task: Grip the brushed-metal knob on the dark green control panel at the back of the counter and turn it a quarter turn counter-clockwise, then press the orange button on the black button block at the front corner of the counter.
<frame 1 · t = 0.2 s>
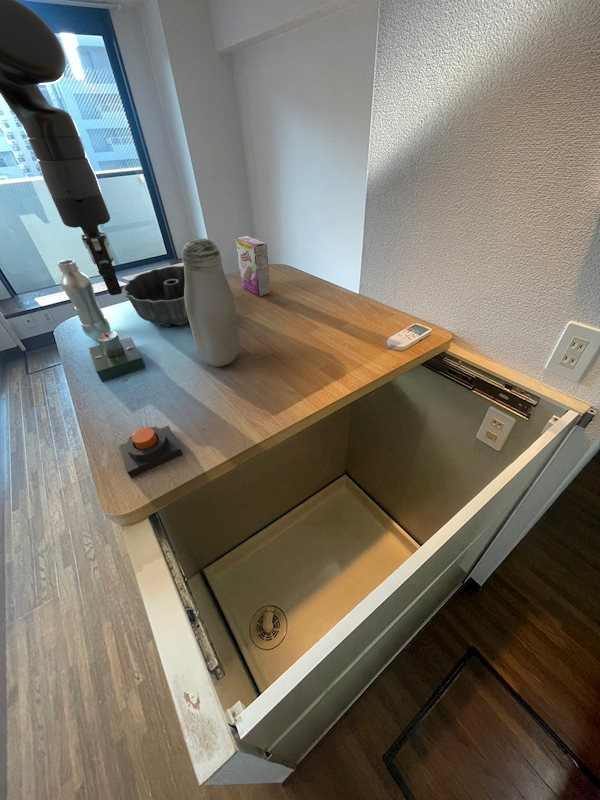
hand: (113, 286, 65), 20 cm above the table, tool pointing down, fingers open, 8 cm apart
off-white tall tapered cylinder: (222, 362, 81), on the table
candy bar box: (255, 291, 114), on the table
button block: (152, 453, 59), on the table
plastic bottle: (100, 336, 91), on the table
panel: (119, 362, 81), on the table
button: (144, 438, 56), point 4 cm above the table, slide at 0.2 cm
dial: (110, 344, 77), point 5 cm above the table, hinge at 0.0°
bundt pan: (180, 313, 101), on the table
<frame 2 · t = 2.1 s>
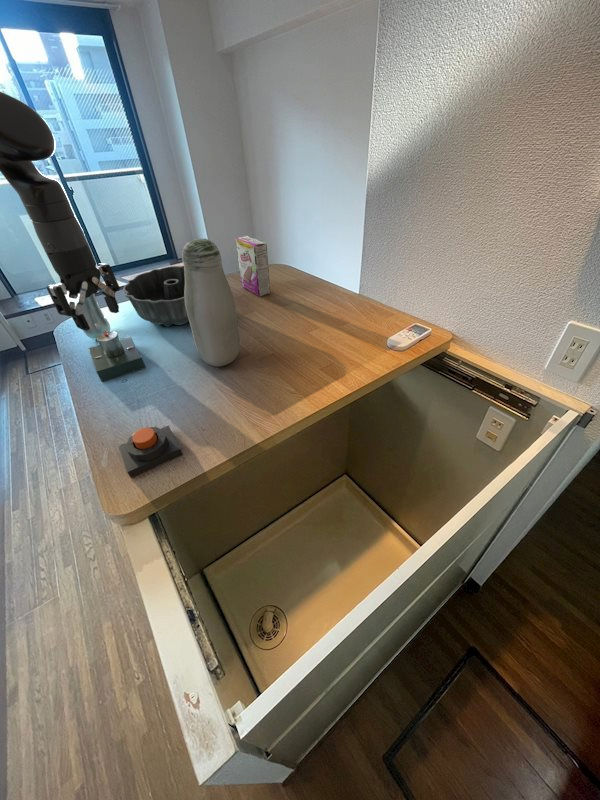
hand: (100, 320, 73), 12 cm above the table, tool pointing down, fingers open, 8 cm apart
nothing on the table moved.
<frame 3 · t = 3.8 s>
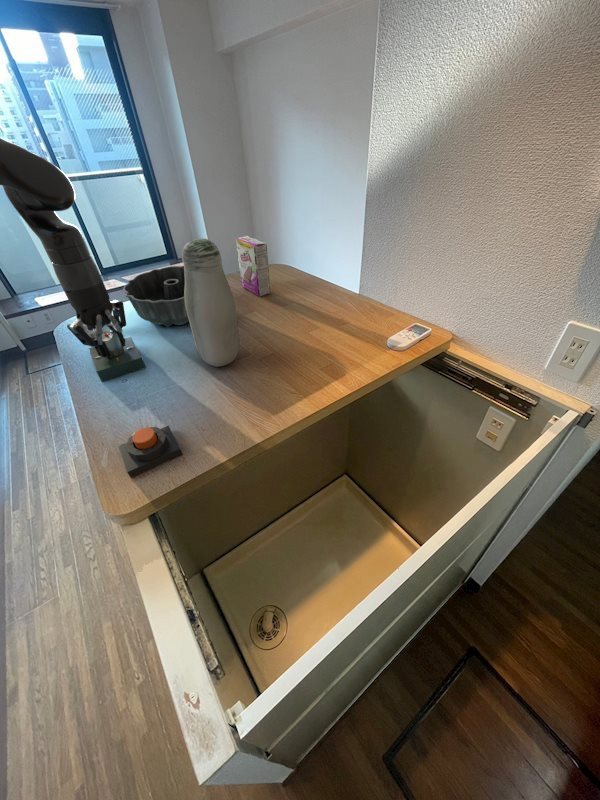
hand: (113, 350, 79), 4 cm above the table, tool pointing down, fingers closed on dial, 4 cm apart
dial: (110, 344, 77), point 5 cm above the table, hinge at 0.0°, touching gripper
everything else where it was.
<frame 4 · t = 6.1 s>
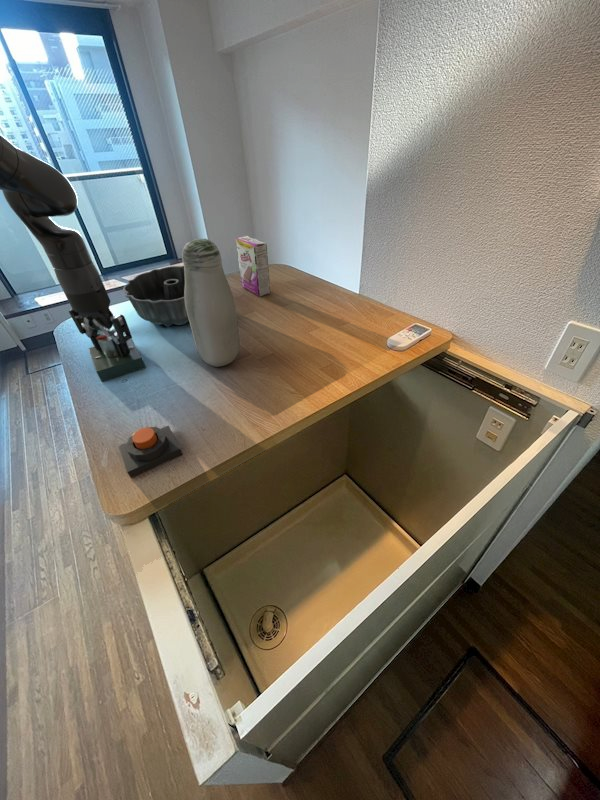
hand: (113, 351, 79), 3 cm above the table, tool pointing down, fingers open, 7 cm apart
dial: (110, 344, 77), point 5 cm above the table, hinge at 89.9°
everything else where it was.
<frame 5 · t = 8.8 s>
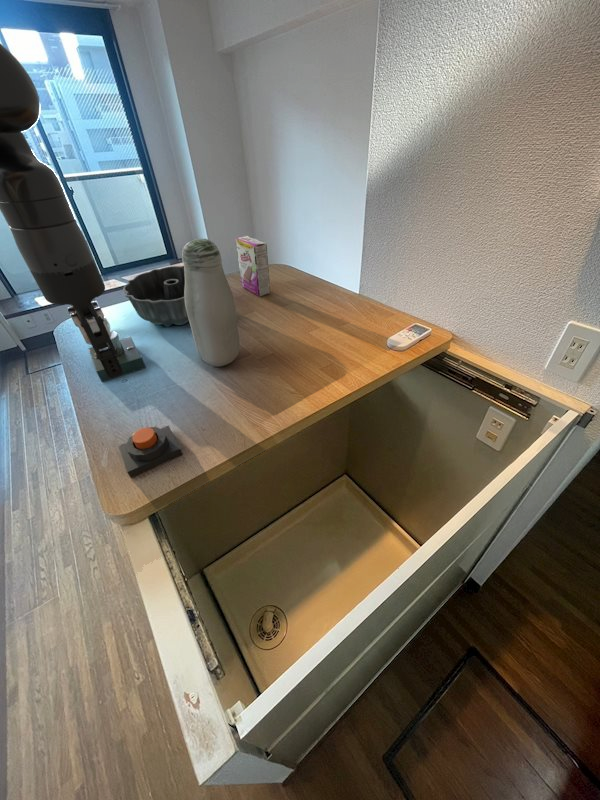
hand: (109, 362, 53), 16 cm above the table, tool pointing down, fingers open, 8 cm apart
nothing on the table moved.
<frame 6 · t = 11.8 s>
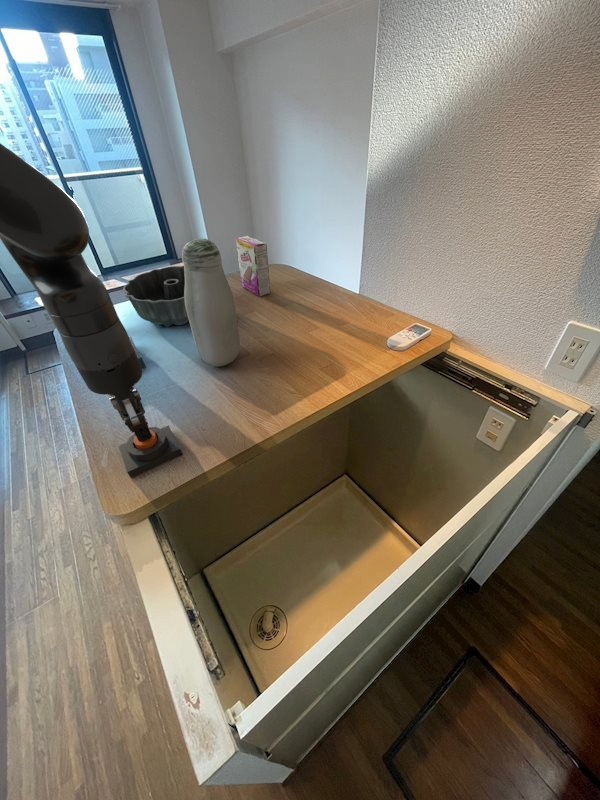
hand: (145, 437, 56), 4 cm above the table, tool pointing down, fingers closed
button: (146, 440, 57), point 3 cm above the table, slide at -0.5 cm, touching gripper
everything else where it was.
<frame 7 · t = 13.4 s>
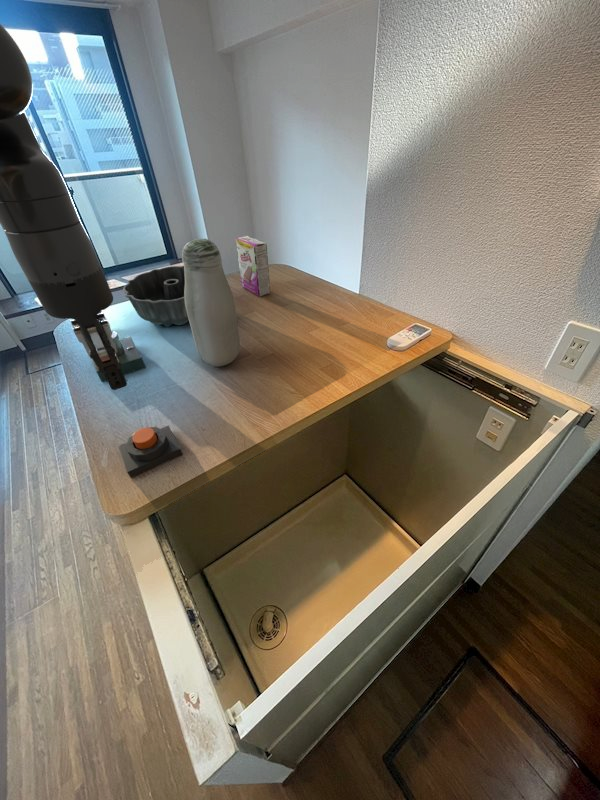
hand: (119, 385, 49), 16 cm above the table, tool pointing down, fingers closed
button: (144, 438, 56), point 4 cm above the table, slide at 0.2 cm
everything else where it was.
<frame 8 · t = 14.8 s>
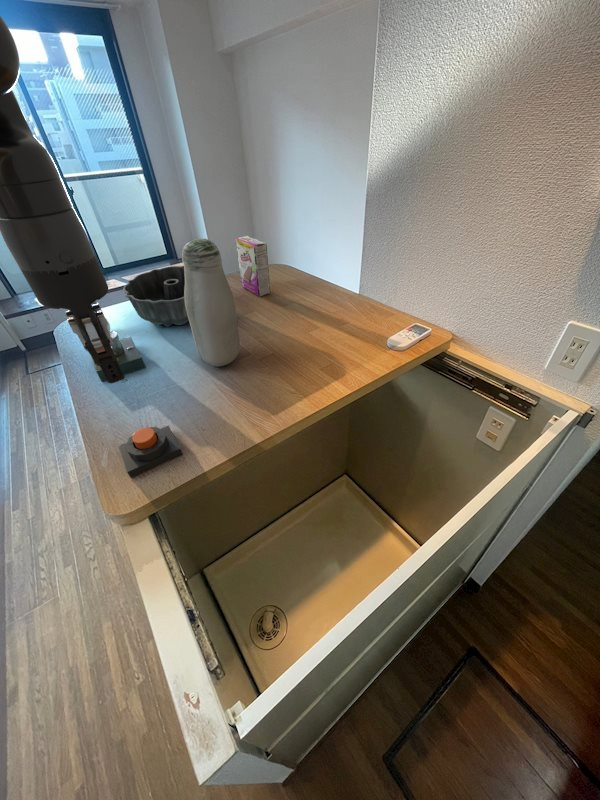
hand: (116, 379, 48), 17 cm above the table, tool pointing down, fingers closed
nothing on the table moved.
at the end: dial at +90° (first picture: +0°); button pushed in 1.1 cm at the most during the clip, back to 0.2 cm at the end; button slide at 0.2 cm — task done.
